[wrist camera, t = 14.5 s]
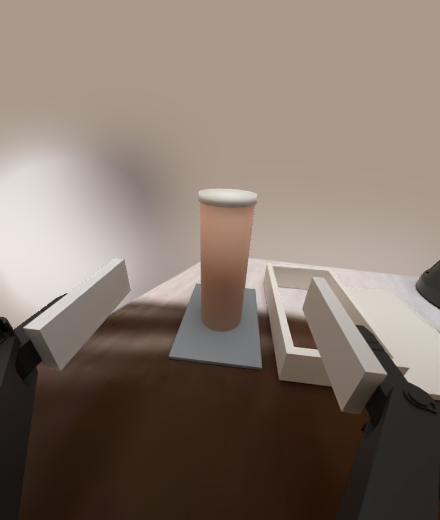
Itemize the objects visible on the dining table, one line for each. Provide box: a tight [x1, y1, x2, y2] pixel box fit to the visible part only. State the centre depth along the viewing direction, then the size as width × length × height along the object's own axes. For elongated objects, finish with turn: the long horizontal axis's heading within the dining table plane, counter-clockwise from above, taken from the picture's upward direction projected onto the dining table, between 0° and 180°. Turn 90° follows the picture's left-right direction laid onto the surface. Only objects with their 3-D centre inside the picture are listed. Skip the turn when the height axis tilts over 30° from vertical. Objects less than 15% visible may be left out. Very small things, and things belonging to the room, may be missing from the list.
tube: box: [199, 189, 257, 332], centre depth 23 cm, size 6×6×16 cm
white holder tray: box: [264, 263, 440, 400], centre depth 26 cm, size 21×18×4 cm
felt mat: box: [169, 284, 262, 370], centre depth 27 cm, size 10×14×1 cm
